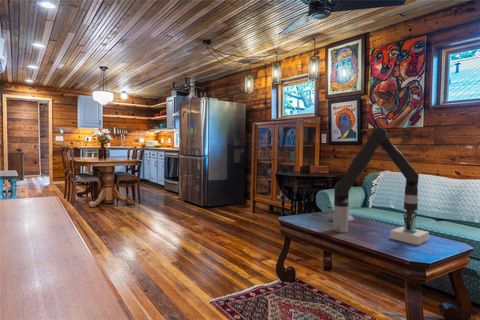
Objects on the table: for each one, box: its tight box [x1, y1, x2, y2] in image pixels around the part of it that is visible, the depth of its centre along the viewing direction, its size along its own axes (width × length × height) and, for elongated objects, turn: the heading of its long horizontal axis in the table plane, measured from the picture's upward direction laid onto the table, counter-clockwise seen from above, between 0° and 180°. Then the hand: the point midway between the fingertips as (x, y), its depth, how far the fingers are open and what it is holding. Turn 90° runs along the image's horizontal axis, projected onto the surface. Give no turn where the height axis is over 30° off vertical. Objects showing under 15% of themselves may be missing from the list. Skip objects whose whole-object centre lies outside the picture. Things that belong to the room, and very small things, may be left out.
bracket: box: [403, 217, 417, 233], centre depth 193 cm, size 4×5×11 cm
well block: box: [390, 226, 430, 246], centre depth 194 cm, size 16×16×5 cm
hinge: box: [348, 208, 355, 222], centre depth 241 cm, size 17×5×10 cm, turn 127°
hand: (409, 229), depth 194 cm, fingers closed on bracket, 4 cm apart
